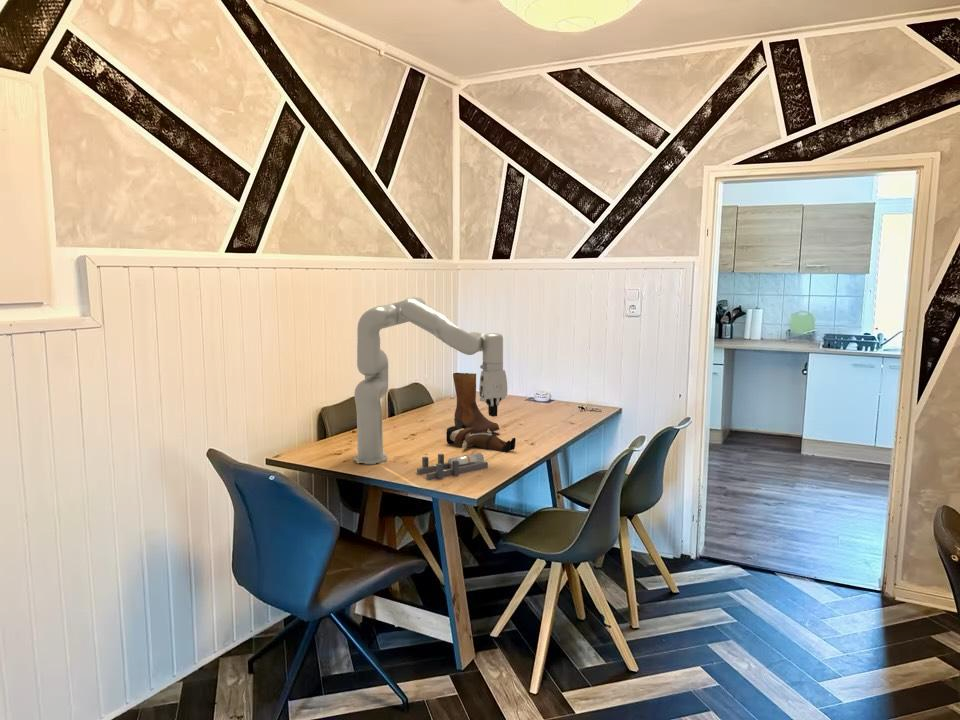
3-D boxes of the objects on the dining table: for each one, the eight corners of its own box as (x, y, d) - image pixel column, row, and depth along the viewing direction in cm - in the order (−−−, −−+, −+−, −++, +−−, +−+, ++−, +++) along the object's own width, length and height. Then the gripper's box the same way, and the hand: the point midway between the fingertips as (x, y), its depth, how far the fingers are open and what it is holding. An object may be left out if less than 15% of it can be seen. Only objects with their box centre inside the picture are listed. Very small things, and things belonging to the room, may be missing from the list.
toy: (498, 447, 242) (434, 428, 256) (496, 471, 244) (432, 450, 258) (526, 432, 262) (464, 415, 277) (523, 454, 265) (462, 436, 279)
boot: (503, 434, 284) (503, 375, 280) (488, 437, 277) (488, 377, 274) (465, 424, 302) (465, 368, 298) (450, 427, 296) (450, 370, 292)
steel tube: (454, 470, 225) (453, 457, 226) (448, 470, 229) (446, 458, 229) (484, 464, 233) (483, 452, 233) (478, 464, 236) (476, 452, 237)
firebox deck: (414, 475, 226) (414, 458, 225) (472, 463, 240) (472, 447, 239) (431, 484, 216) (430, 466, 215) (490, 471, 230) (490, 455, 229)
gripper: (481, 370, 225) (482, 420, 228) (515, 366, 234) (515, 415, 236) (470, 367, 231) (470, 416, 234) (503, 364, 240) (503, 411, 242)
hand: (492, 415), depth 235 cm, fingers closed
